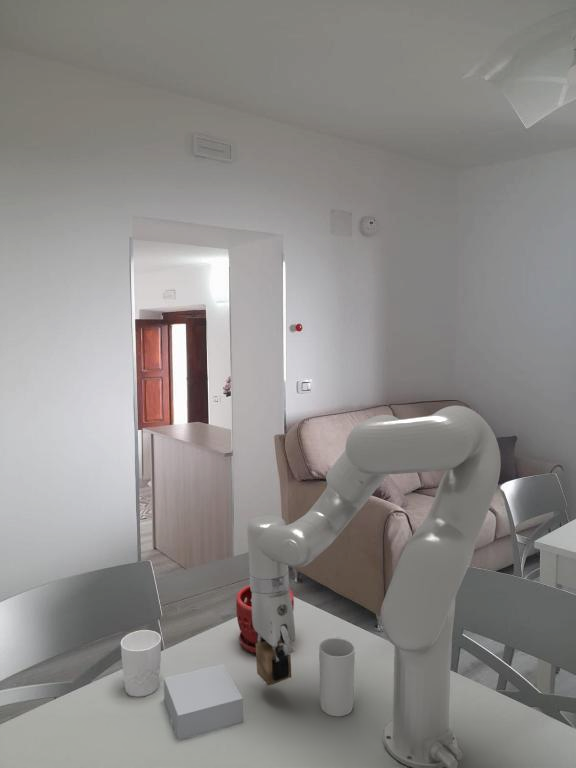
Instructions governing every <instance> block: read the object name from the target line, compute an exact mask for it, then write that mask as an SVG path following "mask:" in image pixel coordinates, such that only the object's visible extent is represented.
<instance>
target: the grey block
mask: <svg viewBox="0 0 576 768" xmlns="http://www.w3.org/2000/svg"><path fill="white" fill-rule="evenodd" d="M163 681H164V682H163V684H164V687H163V691H164V692H163V693H164V694H163V695H164V702H165V706H166V709H167V711H168V714H169V718H170V720H171V722H172V726H173V728H174V731H175V735H176V737H177V740H178V741H181V740H184V739H188V738H191V737H195V736H198V735H202V734H206V733H209V732H212V731H216V730H220V729H222V728H226V727H227V728H228V727H230V726H234V725H237V724H240V723H243V722H244V706H243V705H244V703H243V702H244V699H243V697H242V695H241V693H240V691H239V688H238V687H237V686H236V684H235V683H234V681H233V679H232V677H231V675H230V673H229V672H228V670H227V668H226V667H225V664H224V663H220V664H217V665H213V666H208V667H205V668H199V669H195V670H191V671H187V672H185V673H179V674H175V675H170V676H166V677H164V678H163Z"/></svg>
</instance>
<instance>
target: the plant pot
mask: <svg viewBox="0 0 576 768" xmlns="http://www.w3.org/2000/svg"><path fill="white" fill-rule="evenodd" d="M288 591H289V593H290V597H291V602H292V607H293V611H295V610H294V608H295V607H294V606H295V605H294V603H295V602H294V601H295V599H294V593H293V592H292V590H290V588H289V589H288ZM235 600H236V601H235V602H236V604H235V605H236V608H235V609H236V618H237V619H236V620H237V624H238V627H239V630H240V633H239V634H238V635H239V636H238V638H239V642H240V644H241V645H242V647H243V648H244V649H245V650H247V651H249V652H250V653H254V654H256V644H258V642H257V640H258V635H257V633H256V631H255V629H254V627H253V622H252V592H251V590H250V584H249V585H247V586H245V587H243V588H240V590H239V591H238V593H237V595H236V599H235ZM245 600H246V601H245Z"/></svg>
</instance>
